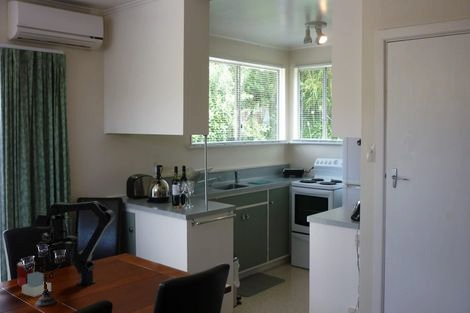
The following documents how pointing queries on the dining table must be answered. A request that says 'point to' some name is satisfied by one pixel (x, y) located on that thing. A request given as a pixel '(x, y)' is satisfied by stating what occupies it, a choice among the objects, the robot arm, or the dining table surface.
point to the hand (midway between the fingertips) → (59, 259)
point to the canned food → (23, 274)
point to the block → (35, 279)
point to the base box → (35, 289)
